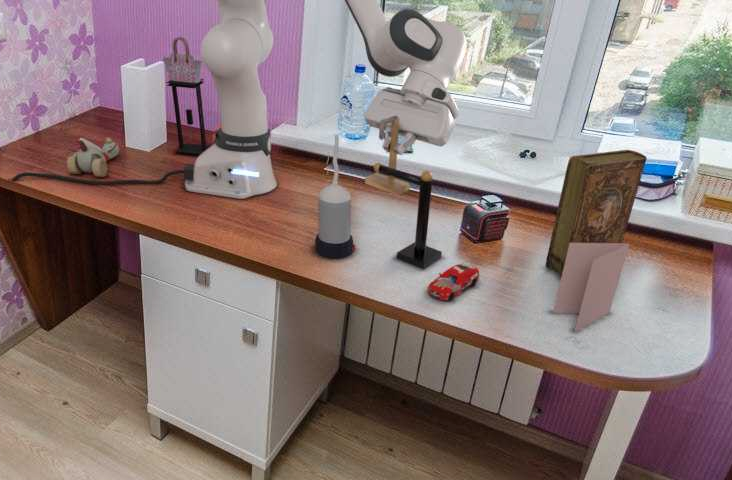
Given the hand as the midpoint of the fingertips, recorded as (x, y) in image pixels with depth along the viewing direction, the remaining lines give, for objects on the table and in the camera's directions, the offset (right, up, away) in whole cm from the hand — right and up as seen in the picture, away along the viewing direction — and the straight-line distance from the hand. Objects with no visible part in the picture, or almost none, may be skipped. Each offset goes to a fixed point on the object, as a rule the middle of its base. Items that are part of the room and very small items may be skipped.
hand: (391, 151), depth 135 cm
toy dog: (-77, +4, +32) cm, 84 cm away
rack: (+2, -21, +5) cm, 21 cm away
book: (+41, -25, +5) cm, 48 cm away
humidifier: (-12, -21, +3) cm, 24 cm away
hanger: (-1, -7, +3) cm, 8 cm away
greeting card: (+38, -36, -13) cm, 53 cm away
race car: (+12, -29, -7) cm, 33 cm away
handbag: (-58, +12, +47) cm, 75 cm away
